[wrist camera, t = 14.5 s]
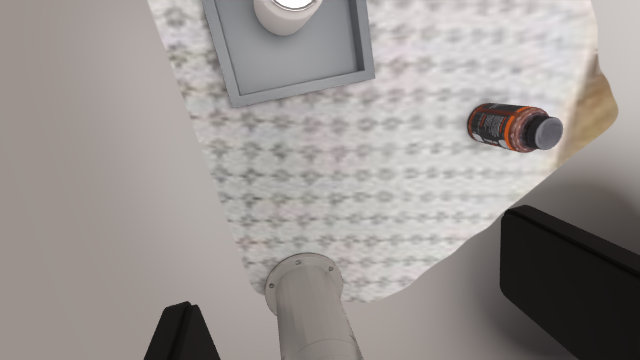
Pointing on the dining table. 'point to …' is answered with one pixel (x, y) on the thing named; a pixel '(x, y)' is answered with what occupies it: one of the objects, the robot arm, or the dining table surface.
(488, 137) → the supplement bottle
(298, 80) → the tray
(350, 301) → the dining table surface
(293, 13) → the can
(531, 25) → the dining table surface
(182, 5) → the dining table surface
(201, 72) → the dining table surface
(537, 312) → the robot arm
